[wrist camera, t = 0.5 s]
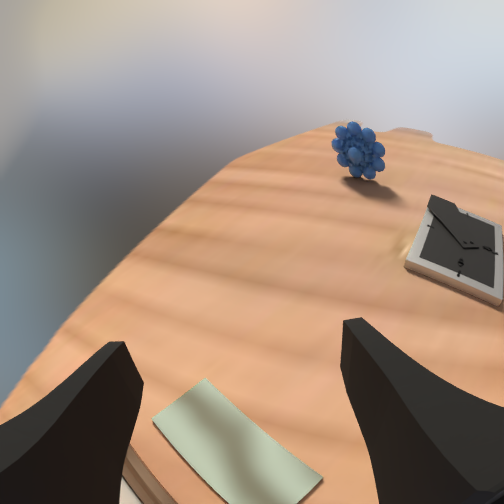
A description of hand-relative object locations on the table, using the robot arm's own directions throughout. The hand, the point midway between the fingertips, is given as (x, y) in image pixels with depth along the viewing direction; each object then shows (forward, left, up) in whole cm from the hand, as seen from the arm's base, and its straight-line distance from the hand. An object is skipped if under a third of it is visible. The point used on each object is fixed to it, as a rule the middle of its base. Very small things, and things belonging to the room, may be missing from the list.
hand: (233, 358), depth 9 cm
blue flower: (+52, -14, -19) cm, 57 cm away
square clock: (+30, -29, -20) cm, 46 cm away
